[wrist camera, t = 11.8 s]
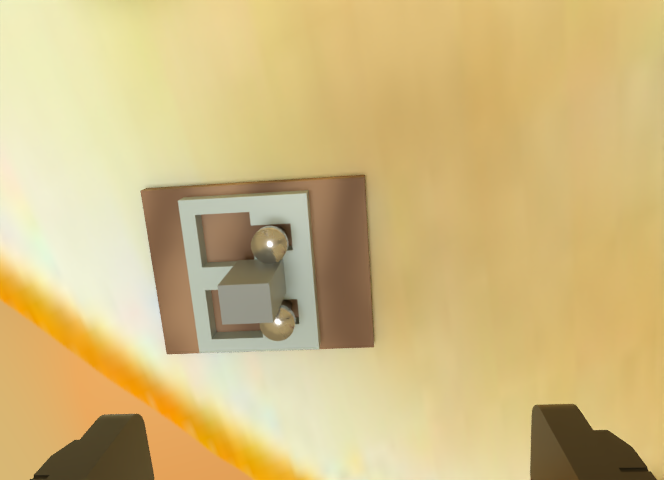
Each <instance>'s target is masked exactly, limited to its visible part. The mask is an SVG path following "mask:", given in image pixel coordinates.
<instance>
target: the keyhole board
mask: <svg viewBox="0 0 664 480" xmlns="http://www.w3.org/2000/svg"><path fill="white" fill-rule="evenodd" d="M303 190H309V202H310V214H311V226H312V239H313V251H314V264H315V276H316V289H317V301H318V313H319V326H320V338H321V343H320V348H319V349H333V348H362V347H374V336H373V318H372V300H371V282H370V264H369V246H368V228H367V210H366V192H365V175H356V176H340V177H323V178H307V179H291V180H275V181H258V182H242V183H226V184H209V185H193V186H177V187H161V188H146V189H144V190H141V197H142V203H143V209H144V215H145V221H146V228H147V234H148V240H149V246H150V252H151V259H152V265H153V271H154V277H155V283H156V290H157V296H158V302H159V308H160V314H161V321H162V327H163V333H164V339H165V345H166V352H167V354H187V353H199V346H198V339H197V332H196V325H195V318H194V311H193V304H192V297H191V290H190V283H189V276H188V269H187V262H186V255H185V248H184V241H183V234H182V227H181V220H180V213H179V206H178V200H180V199H182V198H184V197H199V196H216V195H233V194H251V193H268V192H286V191H303ZM201 219H202V226H203V234H204V241H205V249H206V256H207V262H227V261H238V260H254V254H253V253H252V250H251V241H252V238H253V236H254V235H255V234H256V233H257V231H258V230H260V229H261V228H263V227H265V226H281V227H283V228H284V230H285V234H286V236H287V238H288V246H292V235H291V224H290V223H289V224H270V225H251V223H250V214H249V212H239V213H221V214H202V215H201ZM211 294H212V302H213V309H214V317H215V324H216V332H234V331H261V329H260V323H251V324H224V325H222V318H221V310H220V302H219V295H218V290H211ZM289 300H290V301H291V303H292V309H291V310H292V311H293V313H294V315H295V317H299V313H298V302H297V299H289Z"/></svg>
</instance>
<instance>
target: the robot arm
mask: <svg viewBox="0 0 664 480" xmlns="http://www.w3.org/2000/svg"><path fill="white" fill-rule="evenodd" d="M530 476H531V480H657V479H656V478H655V477H654V475H653V474H652V473H651V472H648V469H647V466H646V465H645V463H644V462H643V461H642V460H641V458H640V457H639V456H638V454H637V453H636V452H635V450H634V449H633V448H632V447H631V446H630V445H628V444H627V443H626V442H624V441H623V440H621V439H620V438H618V437H617V436H616V435H614V434H613V433H611V432H610V431H608V430H593V429H592V428H591V426H590V425H589V423H588V422H587V420H586V419H585V417H584V416H583V414H582V413H581V411H580V410H579V409H578V407H577V406H576V405H574V404H555V405H535V406H534V407H533V410H532V425H531V466H530ZM30 480H154V474H153V468H152V462H151V457H150V451H149V446H148V440H147V434H146V430H145V424H144V420H143V418H142V416H140V415H139V414H115V415H114V414H110V415H102V416H100V417H99V418H98V419H97V420H96V421H95V423H94V424H93V425H92V426H91V427H90V428H89V429H88V431H87V432H86V433H85V434H84V435H83V437H82V438H81V439H80V440H74V441H73V442H71V443H70V444H68V445H67V446H65V447H64V448H62V449H61V450H59V451H58V452H56V453H55V454H53V455H52V456H51V457H50V458H49V459H48V460H47V461H46V462H45V463H44V464H43V466H42V467H41V468H40V469H39V470H38V471H37V472H36V473H35V474H34V478H33V479H30Z"/></svg>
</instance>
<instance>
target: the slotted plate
mask: <svg viewBox="0 0 664 480" xmlns="http://www.w3.org/2000/svg"><path fill="white" fill-rule="evenodd" d="M178 206H179V213H180V220H181V227H182V234H183V241H184V248H185V255H186V262H187V269H188V276H189V283H190V290H191V297H192V304H193V311H194V318H195V325H196V332H197V339H198V346H199V353H218V352H249V351H280V350H311V349H319V348H320V343H321V338H320V326H319V313H318V301H317V289H316V276H315V264H314V251H313V239H312V226H311V214H310V202H309V190H303V191H286V192H268V193H251V194H233V195H216V196H199V197H184V198H182V199H180V200H178ZM239 212H249V214H250V223H251V225H270V224H289V223H290V224H291V235H292V246H288V249H287V251H286V253H285V255H284V256H283V258H282V259H281V260H279V261H278V262H275V263H264V262H261V261H259V260H258V259H257V258H256V257H255V256H254V260H238V261H227V262H207V256H206V249H205V241H204V234H203V226H202V219H201V215H202V214H221V213H239ZM211 290H218V295H219V302H220V310H221V318H222V325H224V324H251V323H273V322H274V320H275V317H276V315H277V313H278V310H279V308H280V306H281V303H282V301H283V300H289V299H297V302H298V313H299V317H295V318H296V324H295V327H294V330H293V333H292V334H291V335H290V337H288V338H287V339H285V340H282V341H273V340H270V339H268V338H267V337H266V336H265V335H264V334H263V333H262V331H234V332H216V324H215V317H214V309H213V302H212V294H211Z"/></svg>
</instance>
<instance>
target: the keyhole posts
mask: <svg viewBox="0 0 664 480" xmlns="http://www.w3.org/2000/svg"><path fill="white" fill-rule="evenodd" d="M287 249H288V238H287V236H286V234H285V230H284V228H283V227H281V226H265V227H263V228H261V229H260V230H258V231H257V233H256V234H255V235H254V236H253V238H252V241H251V250H252V253H253V254H254V256H255V257H256V258H257V259H258V260H259V261H261V262H264V263H275V262H278V261H279V260H281V259H282V258H283V256H284V255H285V253H286V251H287ZM291 309H292V303H291V301H290V300H283V301H282V303H281V306H280V308H279V310H278V313H277V315H276V317H275V320H274V322H273V323H260V329H261V331H262V333H263V334H264V335H265V336H266V337H267V338H268V339H270V340H273V341H282V340H285V339H287V338H288V337H290V335H291V334H292V333H293V330H294V327H295V324H296V318H295V315H294V313H293V311H292V310H291Z"/></svg>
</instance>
